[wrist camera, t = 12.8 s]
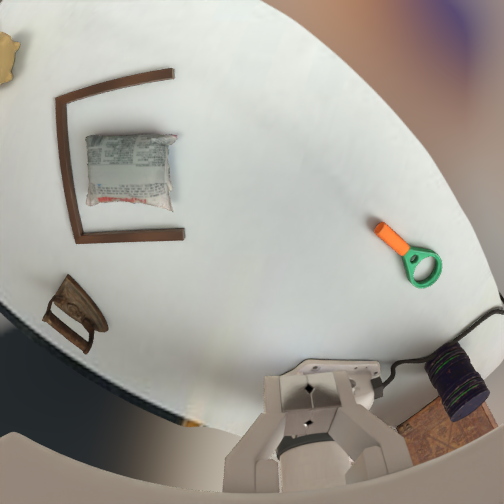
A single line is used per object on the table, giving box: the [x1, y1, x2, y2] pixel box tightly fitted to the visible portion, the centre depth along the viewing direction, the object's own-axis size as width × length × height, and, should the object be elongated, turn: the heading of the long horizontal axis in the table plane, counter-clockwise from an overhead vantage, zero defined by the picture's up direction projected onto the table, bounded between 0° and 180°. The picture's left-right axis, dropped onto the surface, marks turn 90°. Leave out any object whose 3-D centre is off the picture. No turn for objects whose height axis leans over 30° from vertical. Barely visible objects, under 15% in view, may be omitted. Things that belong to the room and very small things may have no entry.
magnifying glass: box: [375, 222, 442, 288], centre depth 35 cm, size 15×6×2 cm, turn 56°
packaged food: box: [85, 134, 177, 212], centre depth 28 cm, size 9×12×5 cm
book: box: [396, 396, 498, 466], centre depth 44 cm, size 25×9×30 cm, turn 147°
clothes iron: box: [42, 275, 108, 354], centre depth 36 cm, size 7×11×10 cm, turn 42°
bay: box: [55, 68, 185, 244], centre depth 29 cm, size 16×20×1 cm
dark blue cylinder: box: [425, 342, 490, 422], centre depth 40 cm, size 10×10×15 cm
